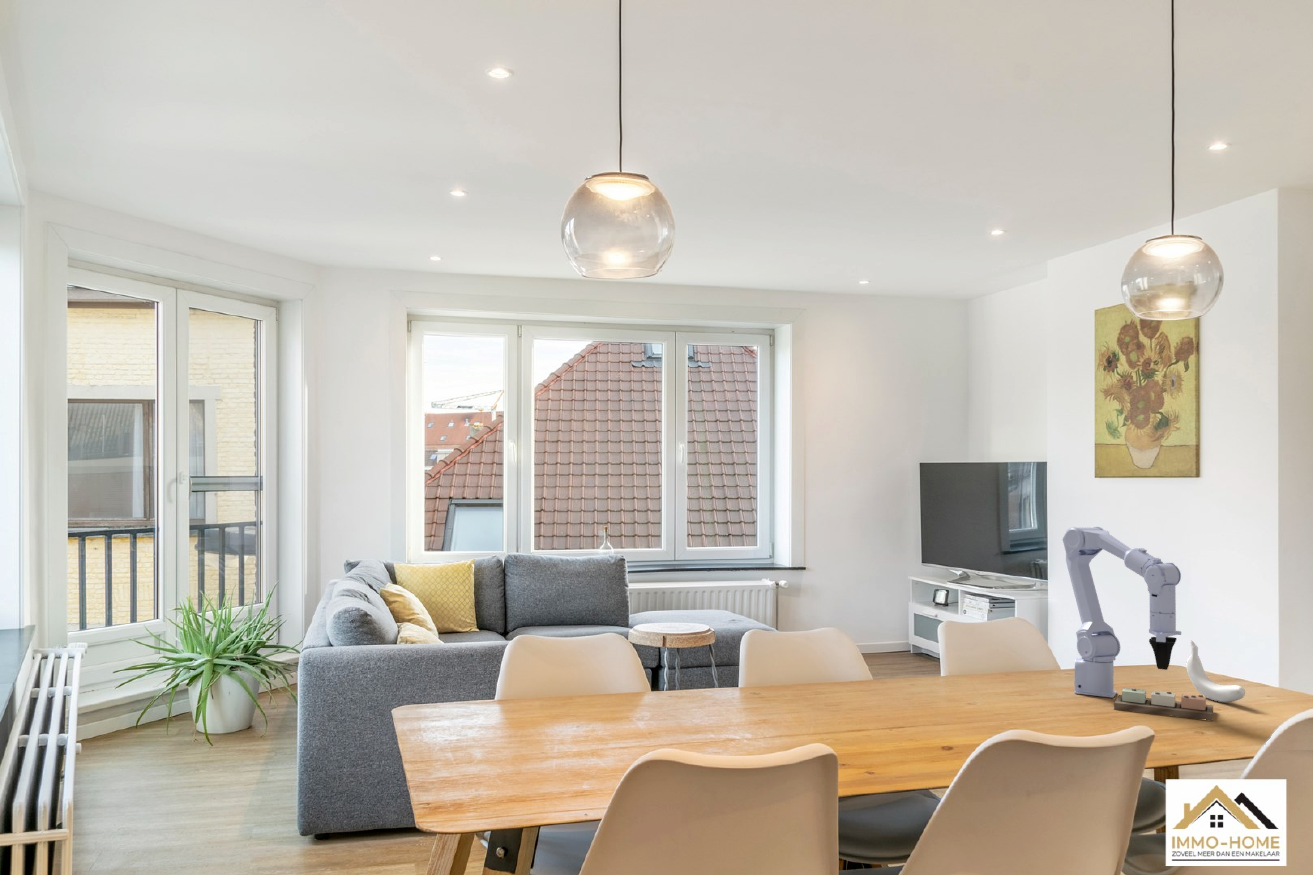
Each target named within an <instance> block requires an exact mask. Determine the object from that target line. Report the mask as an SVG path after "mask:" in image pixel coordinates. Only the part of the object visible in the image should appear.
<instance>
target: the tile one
mask: <svg viewBox="0 0 1313 875" xmlns="http://www.w3.org/2000/svg"><path fill="white" fill-rule="evenodd" d="M1121 695H1122V701H1127V702H1136V703H1145V701H1146V698H1147V690H1146V689H1140V688H1139V689H1137V688H1130V687H1123V689H1122V691H1121Z"/></svg>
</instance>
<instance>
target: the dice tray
mask: <svg viewBox="0 0 1313 875" xmlns="http://www.w3.org/2000/svg"><path fill="white" fill-rule="evenodd" d="M1113 710H1116V711H1124V710H1127V711H1126V712H1132V711H1134V713H1140V712H1141V713H1142V714H1150V715H1158V716H1165V715H1172V716H1171V717H1174V716H1178V717H1177V718H1182V717H1185V718H1184V719H1190V718H1192V720H1199V719H1206V720H1205V721H1207V720H1211V721H1210V722H1213V718H1214V705H1213V704H1206V708H1205V710H1196V709H1188V708H1181V701H1178V700H1177V701H1176V703H1175V707H1170V706H1162V705H1153V704H1151V697H1146V701H1145V703H1136V702H1127V701H1122V694H1118V695H1117V697H1116V698H1115V701H1114V702H1113ZM1212 717H1213V718H1212Z"/></svg>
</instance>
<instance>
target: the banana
mask: <svg viewBox="0 0 1313 875" xmlns="http://www.w3.org/2000/svg"><path fill="white" fill-rule="evenodd" d="M1190 647H1191V654H1190V655H1189V656H1188V658H1187V659H1186V664H1185V666H1186V671H1187V675H1188V678H1189V679H1190V682H1191V684H1192V685H1193V686H1194V688H1195V689H1196V690H1197V691H1198V692H1199V693H1200V695H1203V696H1205V697H1206V699H1209V700H1212V701H1213V700H1214V702H1217V701H1218V702H1219V703H1232V702H1236V701H1239V700H1242V699H1243V698H1244V697H1245V696H1246V690H1245V688H1243V687H1242V686H1240V685H1238V684H1233V685H1232V684H1231V685H1224V684H1223V685H1222V684H1219V683H1216V682H1214V681H1213V680H1212V679H1210V677H1209V676H1207V673H1206V672H1205V669H1204V667H1203V664H1202V661H1201V658H1200V656H1199V651H1198V650H1199V646H1197V645H1196V643H1195V642H1194V641H1193V640H1190ZM1218 702H1217V703H1218Z"/></svg>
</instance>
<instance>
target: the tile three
mask: <svg viewBox="0 0 1313 875" xmlns="http://www.w3.org/2000/svg"><path fill="white" fill-rule="evenodd" d="M1180 700H1181V701H1180V702H1181V708H1188V709H1196V710H1205V708H1206V705H1207V704H1206V702H1207V697H1205V696H1204V695H1203V694H1199V695H1194V694H1187V693H1186V694H1185V693H1182V694H1181V697H1180Z"/></svg>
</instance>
